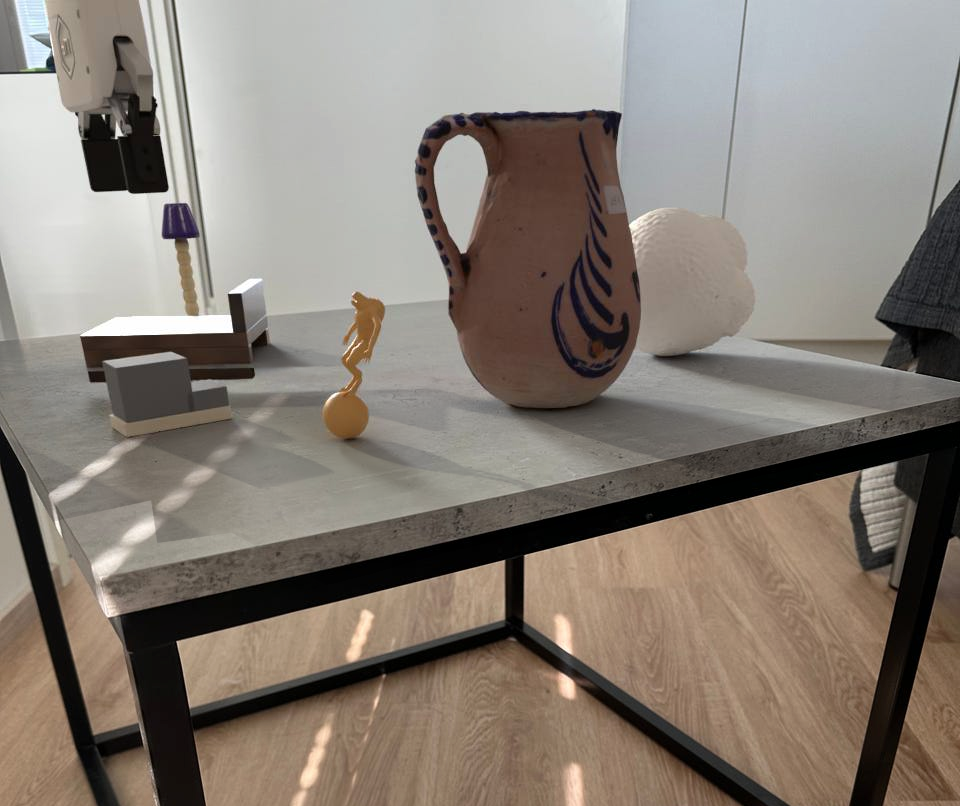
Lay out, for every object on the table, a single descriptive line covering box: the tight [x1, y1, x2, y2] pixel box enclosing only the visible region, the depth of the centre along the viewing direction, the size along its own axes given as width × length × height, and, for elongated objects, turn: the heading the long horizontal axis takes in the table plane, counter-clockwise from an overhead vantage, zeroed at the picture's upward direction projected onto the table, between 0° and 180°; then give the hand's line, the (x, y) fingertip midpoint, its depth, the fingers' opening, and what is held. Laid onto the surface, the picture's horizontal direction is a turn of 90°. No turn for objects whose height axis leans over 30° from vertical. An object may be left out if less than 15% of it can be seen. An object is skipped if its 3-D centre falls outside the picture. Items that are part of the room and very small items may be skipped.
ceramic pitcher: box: [414, 108, 641, 409], centre depth 85 cm, size 18×21×25 cm
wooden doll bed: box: [79, 278, 271, 383], centre depth 105 cm, size 18×12×9 cm, turn 91°
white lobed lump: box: [629, 206, 770, 357], centre depth 107 cm, size 20×18×16 cm
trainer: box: [102, 352, 233, 438], centre depth 85 cm, size 10×4×6 cm, turn 126°
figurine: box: [322, 291, 386, 440], centre depth 78 cm, size 8×6×12 cm
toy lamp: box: [161, 202, 201, 316], centre depth 119 cm, size 5×5×17 cm
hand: (129, 192), depth 77 cm, fingers open, 9 cm apart
